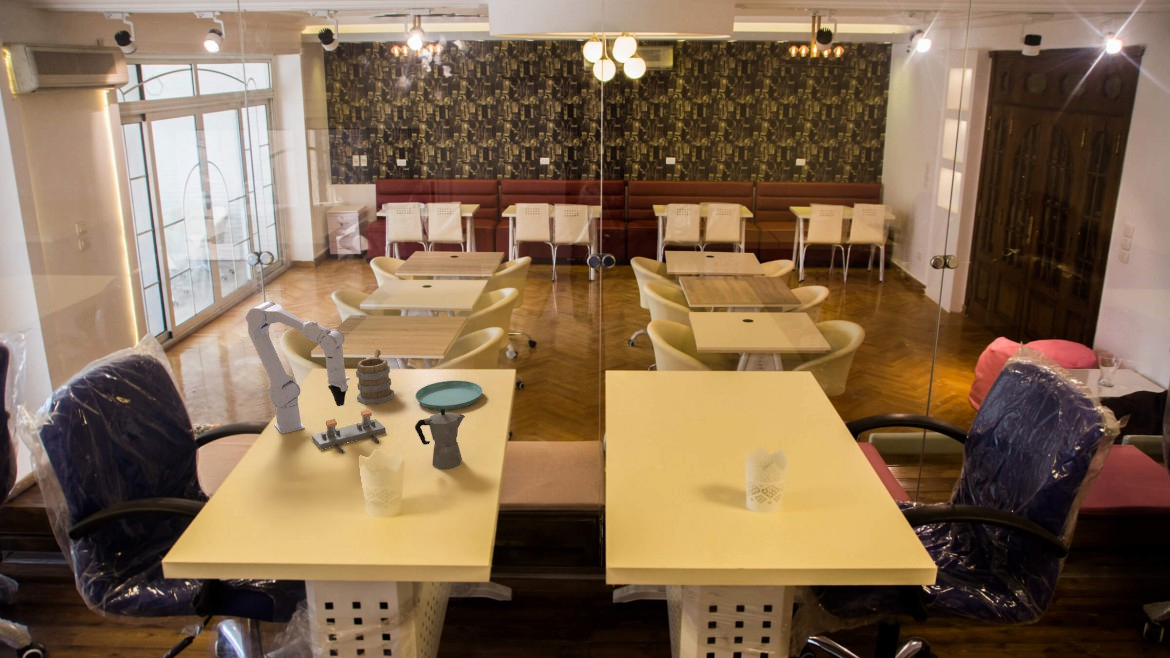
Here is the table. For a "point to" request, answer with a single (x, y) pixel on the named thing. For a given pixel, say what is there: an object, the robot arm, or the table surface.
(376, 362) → the tankard
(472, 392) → the saucer
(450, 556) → the table surface
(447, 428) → the coffeepot
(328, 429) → the lever
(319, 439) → the breaker block
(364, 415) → the lever
